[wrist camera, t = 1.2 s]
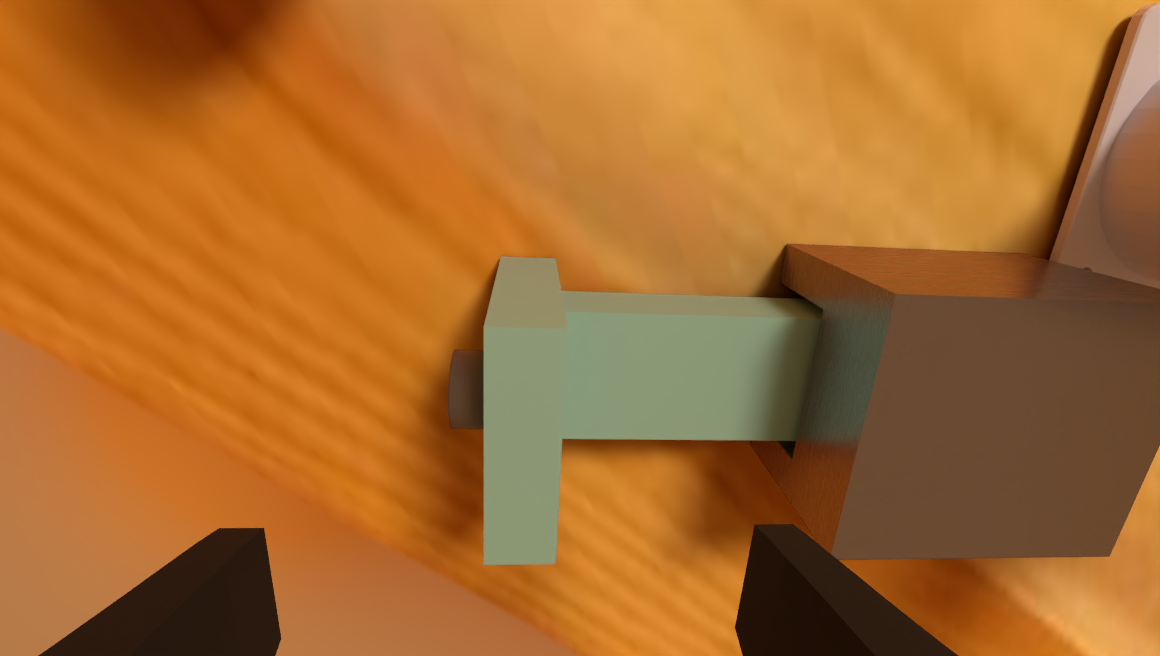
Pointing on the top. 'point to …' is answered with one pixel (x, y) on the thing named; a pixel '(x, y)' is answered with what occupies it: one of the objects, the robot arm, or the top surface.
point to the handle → (615, 384)
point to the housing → (969, 404)
